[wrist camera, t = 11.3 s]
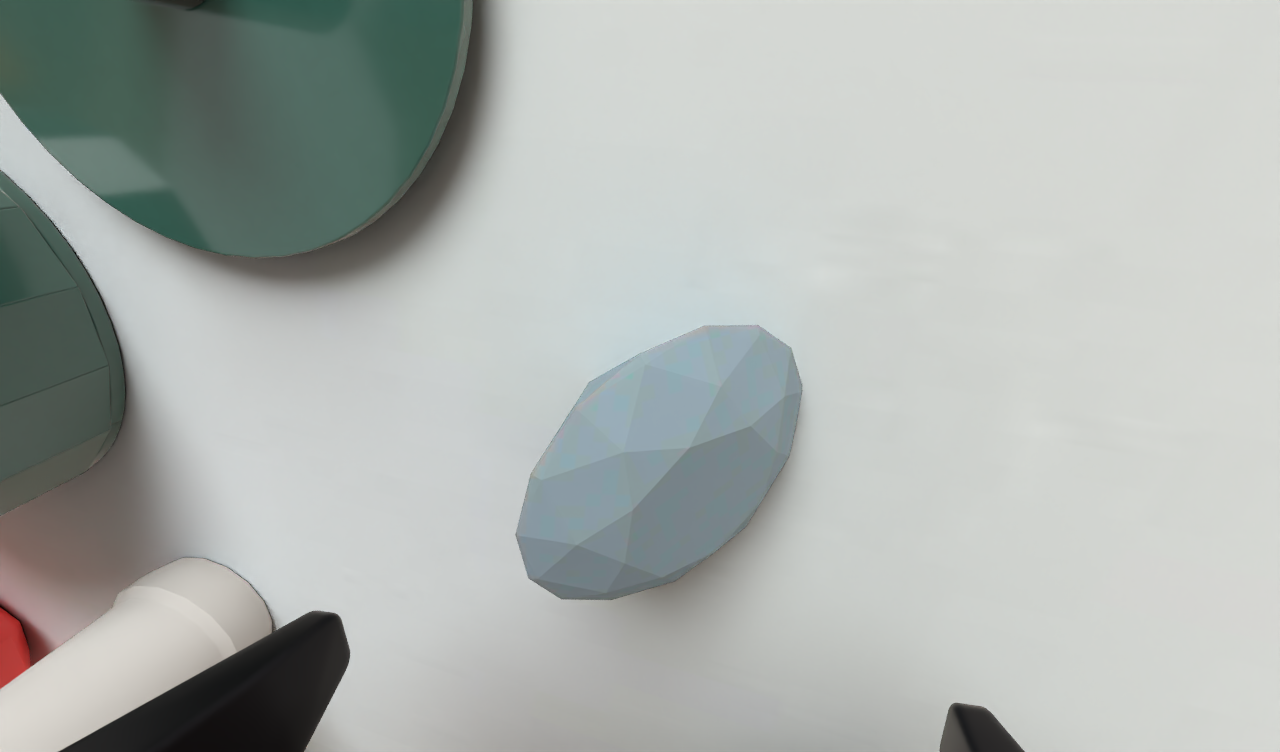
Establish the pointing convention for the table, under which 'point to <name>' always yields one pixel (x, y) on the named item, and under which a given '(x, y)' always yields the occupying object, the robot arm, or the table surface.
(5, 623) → the apple
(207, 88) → the lid
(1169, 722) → the table surface
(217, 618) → the bottle
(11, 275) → the pot
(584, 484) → the gemstone
